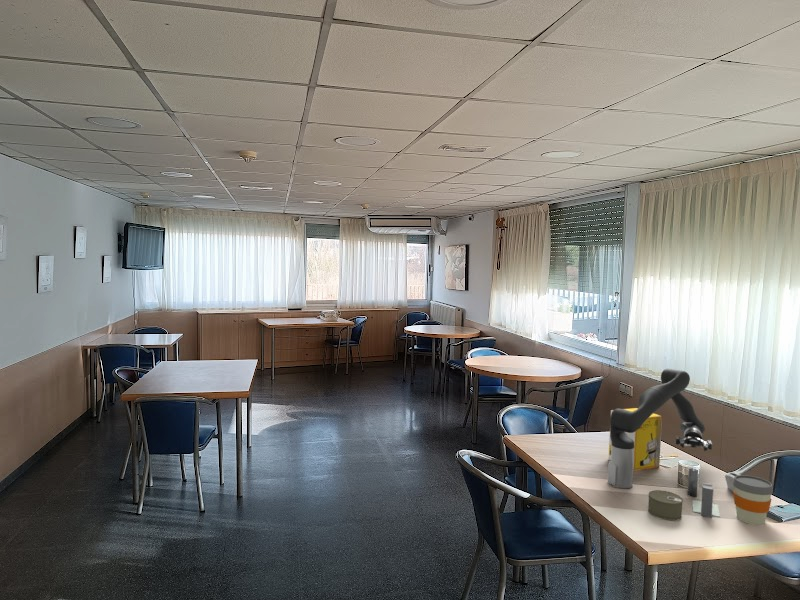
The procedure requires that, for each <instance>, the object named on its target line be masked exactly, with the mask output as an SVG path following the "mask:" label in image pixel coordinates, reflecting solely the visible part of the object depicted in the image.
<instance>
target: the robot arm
mask: <svg viewBox="0 0 800 600" xmlns="http://www.w3.org/2000/svg"><path fill="white" fill-rule="evenodd" d="M660 381H661V384H658V385H654V386H650V387H648V388H647V389H645V391H644V392H642V393H641V394H640V395H639V397H638V409H637V410H635V411H628V410H624V409H625V408H615V409H612V410H613V412H612V414H611V413H610V417H609V418H610V419H609V420H610V421H609V422H610V423H609V424H610V425H609V439H610V438H611V460H609V461H608V466H607V468H608V469H607V483H608V484H610V485H611V484H612V485H613V486H612V485H611V486H612V487H614V488H618V489H631V488H632V487H633V482H634V481H633V480H634V479H633V478H634V476H633V475H634V471H633V460H634V441H633V440H632V439H631V438H630V437H628V436H627V435H626V433H625V432H628V433H633V432H635V431H637V430H638V429H639V428H640V426H641V425H642V424H643V423H644V422H645V421H646V420H647V418H649V417H650V416H651V415H652V414H655V412H657V411H658V410H659V409H660V408H661V407H663V405H665V403H666V402H669V401H670V399H671V401H672V402H673V403H674V405H675V408H676V410H677V413H678V416H679V418H680V420H681V421H682V422H681V424H680V425H679V426H680V428H679V429H680V432H681V433H682V435H683V437H681V436H680V435H676V438H675V445H680V447H681V448H682V449H683V448H685V447H691V448H694V449H695V448H699V449H703V451H704V452H707V451H708V449H709V450H713V442H712V440H711V439H708V440H707V441H705V440H704V439H703V434H704V433H705V431H706V428H705V425H704V423H703V422H702V421H701V419H700V418H699V417H698V416H697V414H696V412H695V409H694V407H693V405H692V403H691V401H690V400H689V399H688V397H686V396H685V395H684V394H683V393H682V391H684V390H685V389H686V388H688V386H689V384H690V382H691V376H690V375H689V372H687V371H685V370H680V369H674V368H666V369H663V370H662V372H661V375H660Z"/></svg>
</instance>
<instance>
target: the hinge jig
mask: <svg viewBox="0 0 800 600" xmlns="http://www.w3.org/2000/svg"><path fill="white" fill-rule="evenodd" d="M701 489H702V490H701V500H695V499H692V501H691V502H692V512H693V513H698V514H701V515H700V516H702V517H707V518H711V519H712V517H717V518H721V516H720V510H719V505H718V504H716V503H714V502H713V500H714V486H713V484H712V483H707V482H703V483H702V487H701Z"/></svg>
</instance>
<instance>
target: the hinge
mask: <svg viewBox="0 0 800 600" xmlns="http://www.w3.org/2000/svg"><path fill="white" fill-rule="evenodd" d="M737 475H741V474H740V473H738V472H730V473H726V474H725V475H724V478H725V482H726V486H727V489H729V491H731V492H734V485H733V482H734V477H735V476H737Z"/></svg>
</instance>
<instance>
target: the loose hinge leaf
mask: <svg viewBox="0 0 800 600" xmlns="http://www.w3.org/2000/svg"><path fill="white" fill-rule="evenodd" d="M698 480H699V467H698V466H692V465H689V466H688V475H687V495H688V496H689V497H691V498H697V497H698V484H699V483H698V482H699V481H698Z"/></svg>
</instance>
